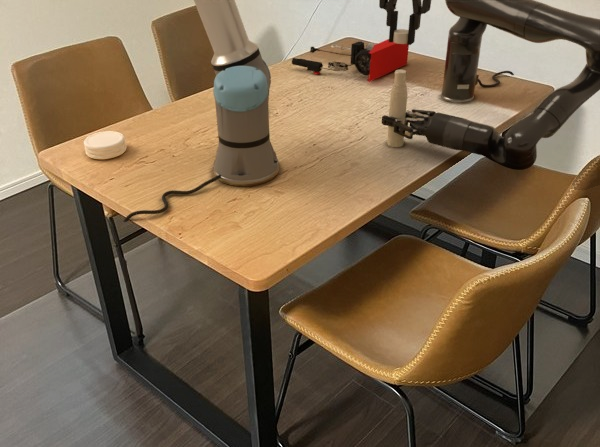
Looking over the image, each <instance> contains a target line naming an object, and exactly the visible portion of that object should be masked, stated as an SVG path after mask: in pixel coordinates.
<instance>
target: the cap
mask: <svg viewBox="0 0 600 447" xmlns="http://www.w3.org/2000/svg"><path fill="white" fill-rule="evenodd" d="M408 30H409V29H405V28H404V29H403V28H397V30H395V31H394V36H393V42H394V43H397V44H407V41H408Z"/></svg>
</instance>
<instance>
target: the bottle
mask: <svg viewBox="0 0 600 447" xmlns="http://www.w3.org/2000/svg"><path fill="white" fill-rule="evenodd" d="M406 79H407V70H405V69H396V70H394V80H393V81H394V82H393V83H392V87H391V90H390V94H389V95H390V96H389V110H388V116H390V117H394V118H398V119H406V111H407V106H408V105H407V104H408V88H407V87H408V85H407V82H406V81H407V80H406ZM402 124H404V123H402ZM393 131H394V127H391V126H387V140H386V141H387V142H386V144H387V145H388V146H389V147H391V148H402V147H403V146H404V144H405V137H403V136H401V135H399V134H397V133H395V132H393Z"/></svg>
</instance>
